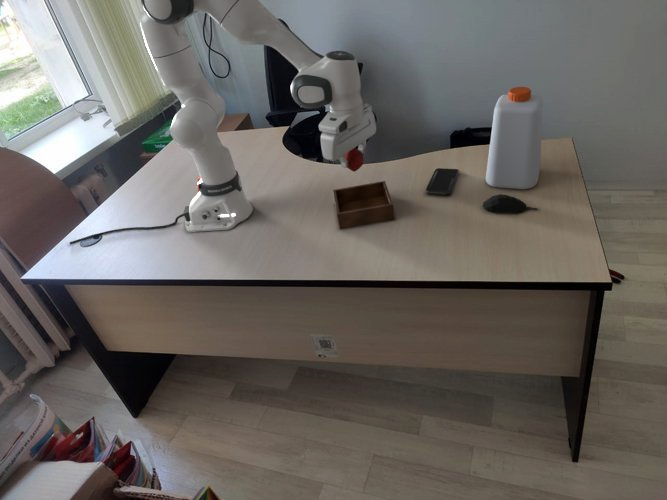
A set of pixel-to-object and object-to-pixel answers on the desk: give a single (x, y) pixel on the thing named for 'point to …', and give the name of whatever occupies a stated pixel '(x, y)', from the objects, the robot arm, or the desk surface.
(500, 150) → the plastic bottle
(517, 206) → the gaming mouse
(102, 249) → the desk surface
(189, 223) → the robot arm
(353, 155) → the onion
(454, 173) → the phone
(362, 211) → the wooden box
